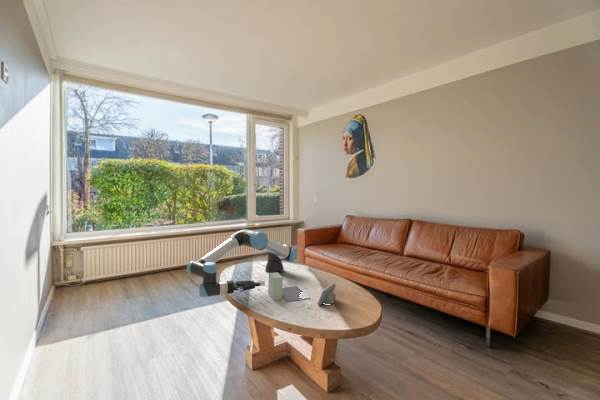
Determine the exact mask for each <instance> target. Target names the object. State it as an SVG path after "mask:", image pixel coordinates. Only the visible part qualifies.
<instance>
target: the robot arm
mask: <svg viewBox="0 0 600 400" xmlns="http://www.w3.org/2000/svg"><path fill="white" fill-rule="evenodd" d="M244 246H245V247H248V248H252V249H254V250H258V251H266V252H267V263H266V265H265V269H264V271H265V272H266V273H268V274H269V273H276V272H278V273H279V274H280V273H282V272H284V269H285V268H284V265H283V261H285V262H289V263H295V262H296V260H297V259H298V252H299V251H298V248H296V247H295V246H290V245H288V244H285V243H283V242H279V241H278V242H276V241H275V240H272V239H270V238H269V237H268V235H267V234H266V233H265V232H263V231H260V230H254V229H253V230H252V229H248V228H245V229H241V230H239V231H238V230H237V231H235V233H233V234H231V235H229V236H228V239H226V240H225V241H224V242H222V243H220V244H219V245H218V246H217V247H215V248H213V249H212V250H210V251H209V252H207V253H206V254H205V255H203V256H202V257H201V258H199V259H197V260H191V261H189V262H188V264H187V265H186V271H187V272H188V273H189V274H191V275H194V276H197V277H200V278H202V283H200V284H199V285H198V294H199V297H200V298H206V297H207V298H208V297H209V298H210V297H215V296H223V295H226V294H227V295H230V294H234V292H235V291H237V292H238V291H239V292H242V293H243V292H245V291H250V290H253V289H255V288H256V287H265V285H266V281H265V280H258V281H254V279H253V280H236V281H235V282H234V281H233V280H227V281H224V280H223V281H218V282H217V276H218V275H217V272H218V271H217V270H218V269H217V262H218V261H219V260H221V259H222V258H223V257H225V256H227V254H229V253H231V252H232V251H233V250H234V249H238V248H240V247H244Z"/></svg>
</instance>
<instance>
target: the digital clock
mask: <svg viewBox="0 0 600 400" xmlns="http://www.w3.org/2000/svg"><path fill="white" fill-rule="evenodd" d="M335 288H336V283H334V282H333V283H332V282H331V284H329V285H327V287H325V288H324V289H322V290H321V294H320V296H319V299H318V301H317V306H319V305H321V304H323V303H325V304H331V303H332V302H333V301H334V300H335V301H336V293H335V292H334V291H335ZM321 306H322V305H321Z"/></svg>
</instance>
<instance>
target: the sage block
mask: <svg viewBox="0 0 600 400" xmlns="http://www.w3.org/2000/svg"><path fill="white" fill-rule="evenodd" d="M283 279H284V278H283V276H282V275H281V274H280V273H278V272H276V273H269V272H268V288H267V290H268V291H267V292H268V293H267V294H268V296H269V297H270V298H271V299H272V300H273V301H276V299H277V300H282V299H283V297H282V288H284V287H283V285H284V284H283Z"/></svg>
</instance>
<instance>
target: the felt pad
mask: <svg viewBox="0 0 600 400" xmlns="http://www.w3.org/2000/svg"><path fill="white" fill-rule="evenodd" d="M300 292H304V291H303V290H302V289H301V288H300V287H298V286H297V285H294V286H286V287H282V299H283V300H284V301H285V302H286V301H287V302H286V303H290V301H292V302H296V300H298V301H301V300H300V299H302V298H299V297H300V296H299V295H300V294H301V293H300ZM299 293H300V294H299Z"/></svg>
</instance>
